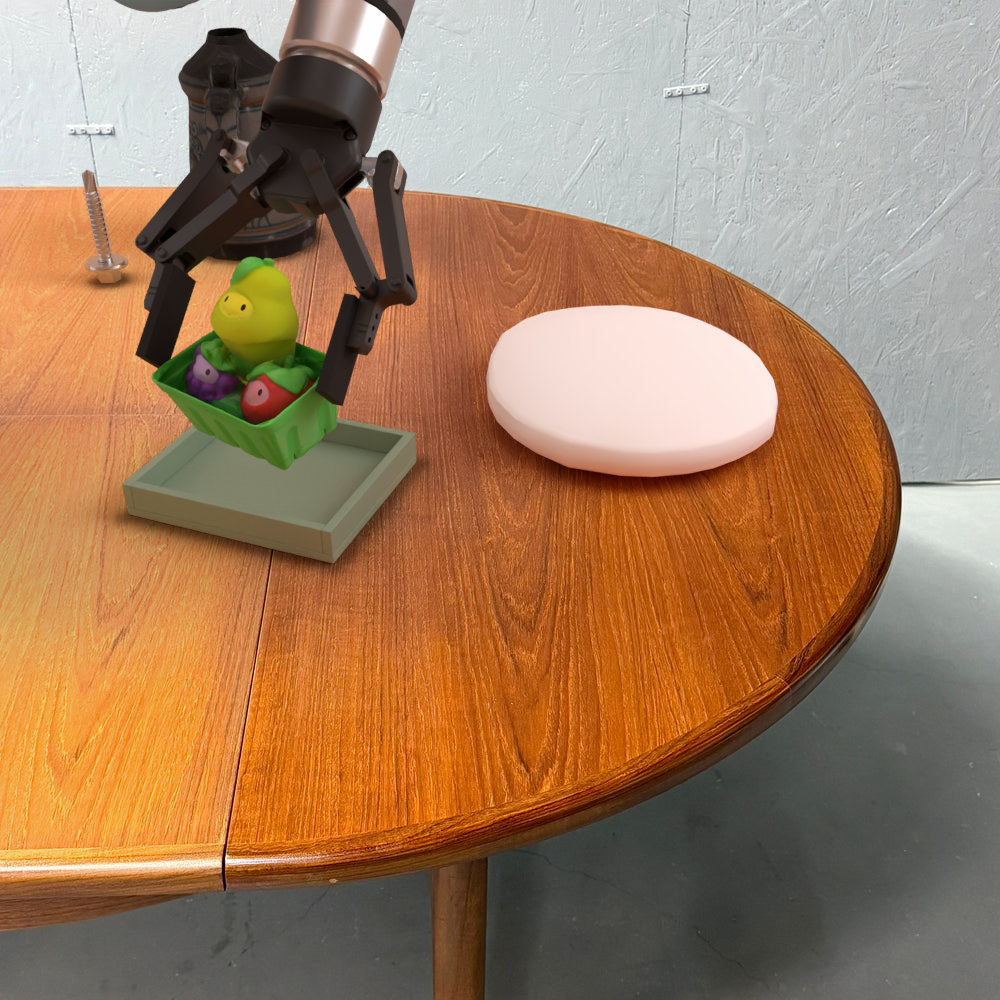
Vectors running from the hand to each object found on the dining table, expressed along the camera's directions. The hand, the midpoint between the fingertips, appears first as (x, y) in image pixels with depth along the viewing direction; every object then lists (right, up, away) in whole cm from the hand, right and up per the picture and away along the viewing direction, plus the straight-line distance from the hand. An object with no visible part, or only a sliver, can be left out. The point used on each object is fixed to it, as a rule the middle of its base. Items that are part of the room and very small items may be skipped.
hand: (237, 380), depth 69 cm
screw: (-29, +18, +58) cm, 67 cm away
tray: (-2, -7, +21) cm, 22 cm away
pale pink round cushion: (+29, +1, +32) cm, 43 cm away
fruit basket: (+1, -3, +4) cm, 5 cm away
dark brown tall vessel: (-14, +25, +68) cm, 74 cm away
